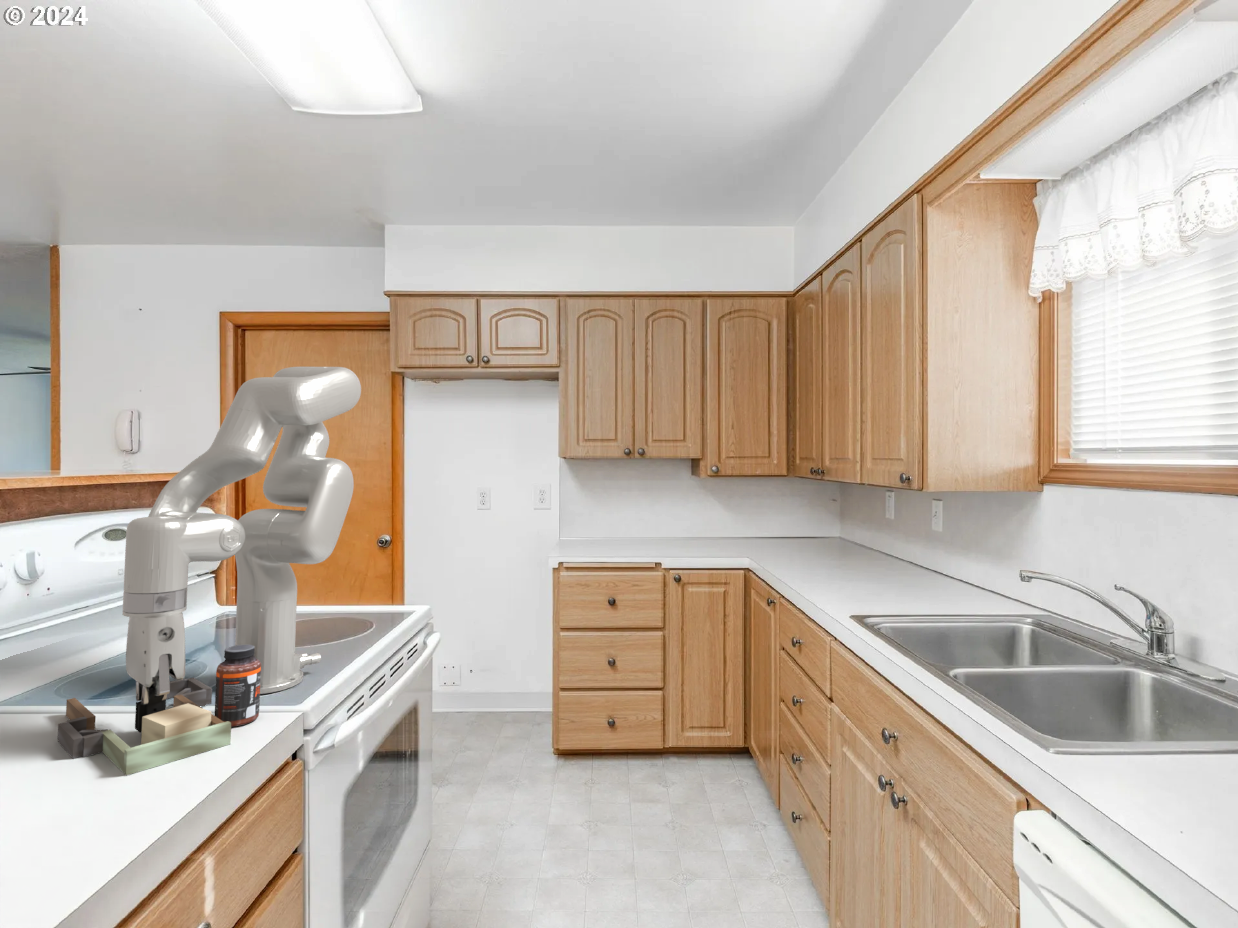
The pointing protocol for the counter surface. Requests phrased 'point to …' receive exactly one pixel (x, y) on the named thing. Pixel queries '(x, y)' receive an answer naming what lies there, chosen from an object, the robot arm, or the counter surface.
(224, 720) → the supplement bottle
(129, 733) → the counter surface
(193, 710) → the block
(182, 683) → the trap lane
